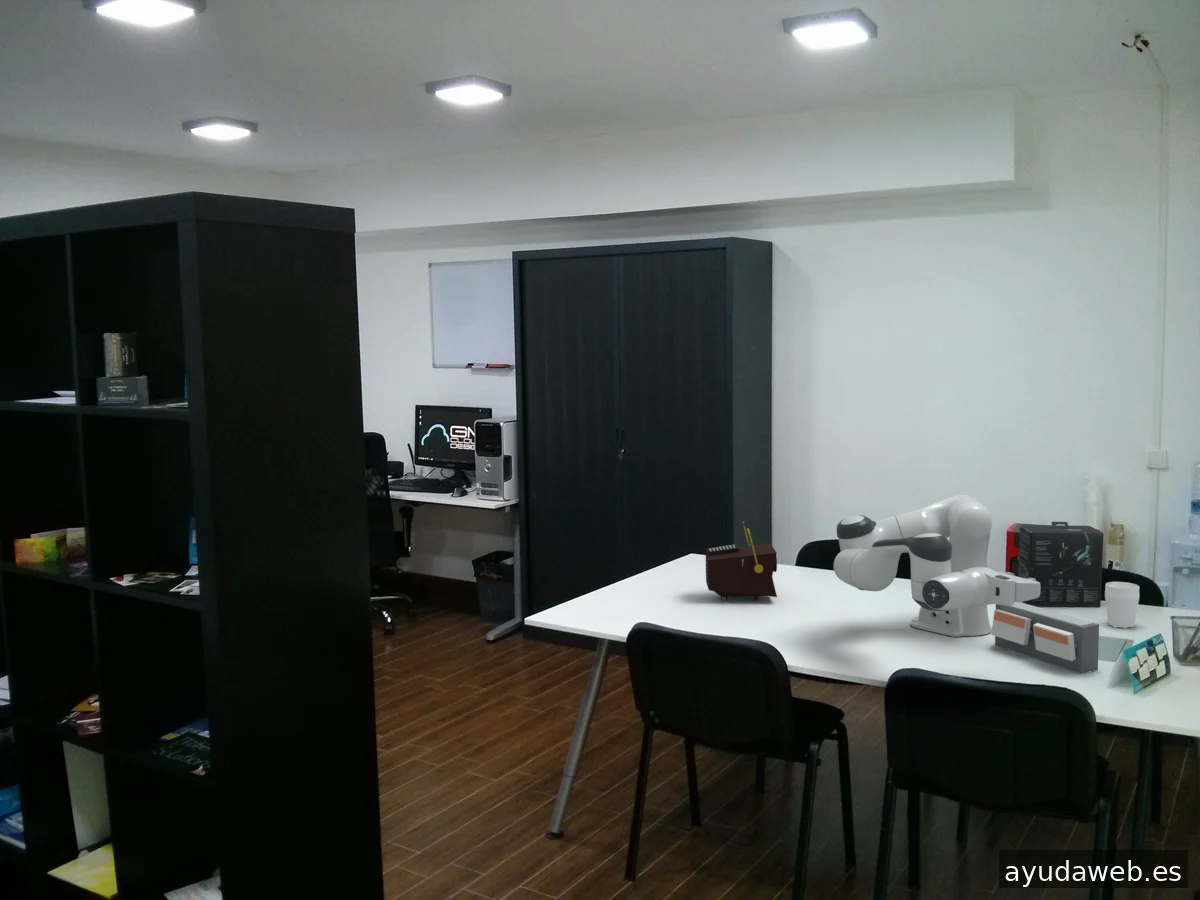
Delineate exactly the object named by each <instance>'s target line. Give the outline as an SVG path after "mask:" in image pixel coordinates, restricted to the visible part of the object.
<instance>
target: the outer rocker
mask: <svg viewBox="0 0 1200 900" xmlns="http://www.w3.org/2000/svg"><path fill="white" fill-rule="evenodd" d="M1033 628H1034V637H1035V646H1036V650H1039V651H1042V652H1045V653H1048V654H1051V655H1054V656H1057V657H1060V658H1063V659H1066V660H1070V661H1073V660H1075V659H1076V656H1075V648H1077V645H1076V644H1074V636H1073V633H1070V632H1067V631H1063V630H1060V629H1056V628H1053V627H1050V626H1046V625H1043V624H1039V623H1036V624H1034V625H1033Z"/></svg>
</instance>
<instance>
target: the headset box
mask: <svg viewBox="0 0 1200 900" xmlns="http://www.w3.org/2000/svg"><path fill="white" fill-rule="evenodd" d="M1018 539H1019V543H1018V567H1017V569H1018V571H1017V577H1021V578H1025V579H1026V578H1034V579H1036V581H1037V582H1039V583H1040V588H1041V590H1040V596H1039V597H1038V598H1035V599H1032V600H1028V601H1023V602H1022V603H1025V604H1028V605H1032V606H1035V607H1073V606H1074V607H1075V606H1078V607H1081V608H1083V607H1085V608H1093V607H1094V608H1101V603H1102V600H1101V599H1102V578H1103V577H1102V575H1103V557H1104V556H1103V555H1104V554H1103V553H1104V532H1103V531H1101V530H1099V529H1096V528H1094V527H1093V526H1091V525H1069V523H1068V521H1051V525H1050V524H1047V525H1046V524H1027V525H1026V524H1020V526H1019V536H1018Z"/></svg>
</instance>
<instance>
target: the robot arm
mask: <svg viewBox="0 0 1200 900" xmlns="http://www.w3.org/2000/svg"><path fill="white" fill-rule="evenodd" d="M992 526H993V518H992V515H991V512H990V510H989V508H987V507H986V506H985V505H984V504H983V503H981V501H979V500H977V499H976V498H974V497H973V496H972V495H968V494H957V495H954V496H951V497H948V498H945V499H943V500H940V501H937V502H934V503H931V504H930V505H927V506H925V507H922V508H918V509H915V510H911V511H910V510H909V511H907V512H903V513H902V512H901V513H899V514H895V515H892V516H888V517H885V518H882V519H879V520H876V521H874V520H872V519H871V518H870V517H868V516H866V515H860V514H858V515H857V514H855V515H850V516H847V517H845V518H843V519H841V520H840V521H839V522H838V524H837V525H836V537H837V539H838V543H839V544H838V545H839V549H840V552H839V553H837V555H836V556H835V558H834V561H833V571H834V574H835V576H836V577H837V578H838V579H839V580H840V581H842V582H844V583H845V584H846V585H849V586H851V587H854V588H856V589H858V590H860V591H866V592H867V591H868V592H880V591H883V590H885V589H887V588H888V587H889V586H890V585H892V584H893V582H894V580H895V579H896V576H897V572H898V566H899V561H900V557H901V555H902V554H903V553H904V554H905V553H908V555H909V558H910V589H911V598H912V599H913V601H914V602H915V603H916V604H918V605H919V606H920V608H919V612H918V615H917V616H916V617H914V618H912V620H911V621H910V627H913V628H916V629H918V630H919V629H921V630H924V631H928V632H933V633H938V634H941V635H946V636H949V637H953V638H957V637H965V636H967V637H968V636H969V637H972V636H973V637H974V636H983V635H987V634H991V631H992V626H991V624H990V618H989V613H988V605H995V606H996V605H1004V606H1011V605H1014V602H1021V603H1023V601H1028V600H1032V599H1035V598H1038V597H1039V596H1040V590H1041V588H1040V583H1039V582H1037V581H1036V579H1034V578H1026V579H1025V578H1021V577H1018V575H1017V576H1016V575H1015V573H1013V572H1010V571H1009V572H1007V571H1006V572H1000V571H998V570H997V571H996V570H993V569H991V568H989V567H987V560H988V559H987V558H988V557H987V556H988V550H989V544H990V539H991V530H992ZM948 538H949V539H948Z"/></svg>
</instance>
